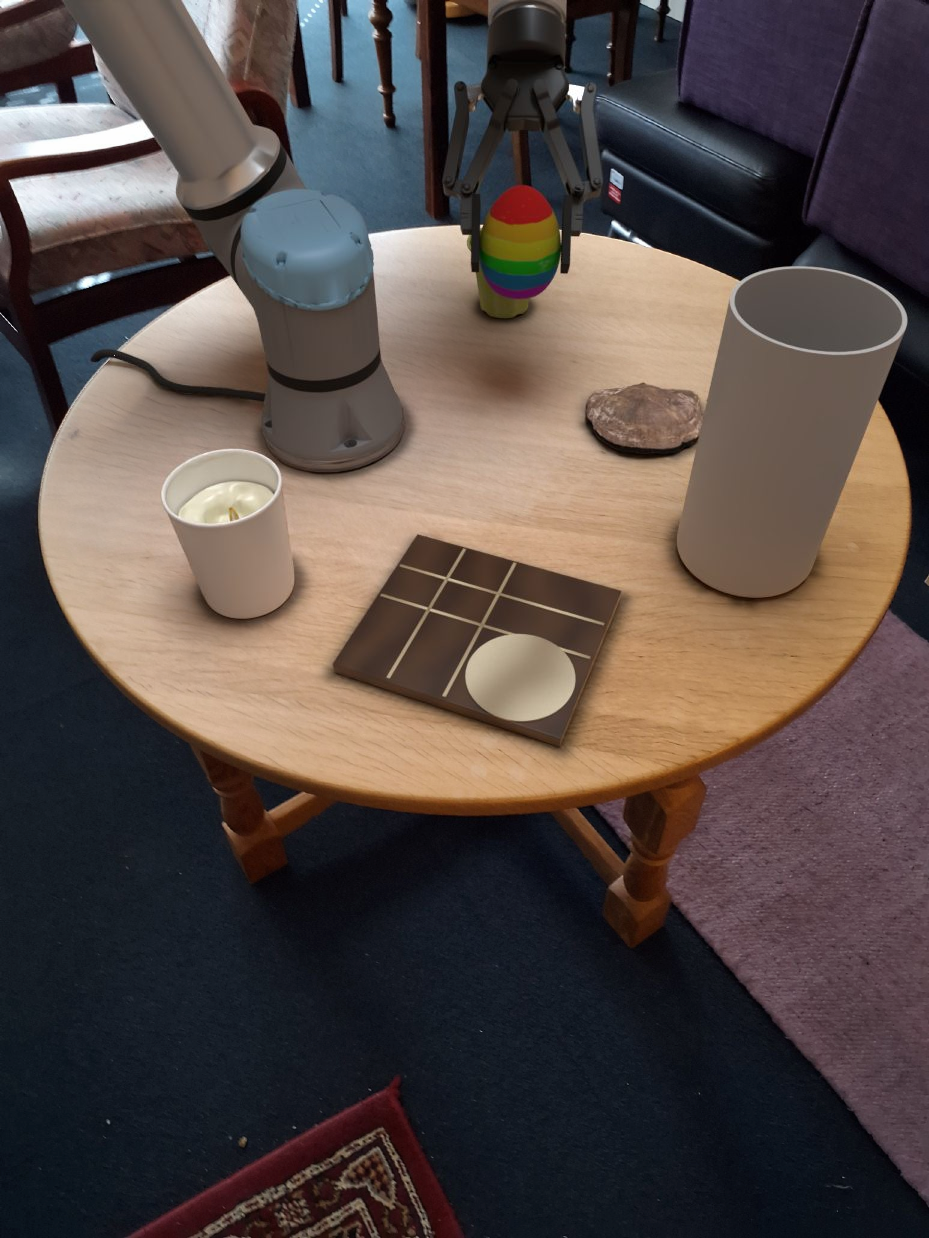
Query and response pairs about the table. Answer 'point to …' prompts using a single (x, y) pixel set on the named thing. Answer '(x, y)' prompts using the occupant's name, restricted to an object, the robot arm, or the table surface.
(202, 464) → the candle holder
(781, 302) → the cylinder vase
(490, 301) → the plant pot
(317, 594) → the table surface
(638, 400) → the shell
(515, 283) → the decorative egg
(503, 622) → the board
